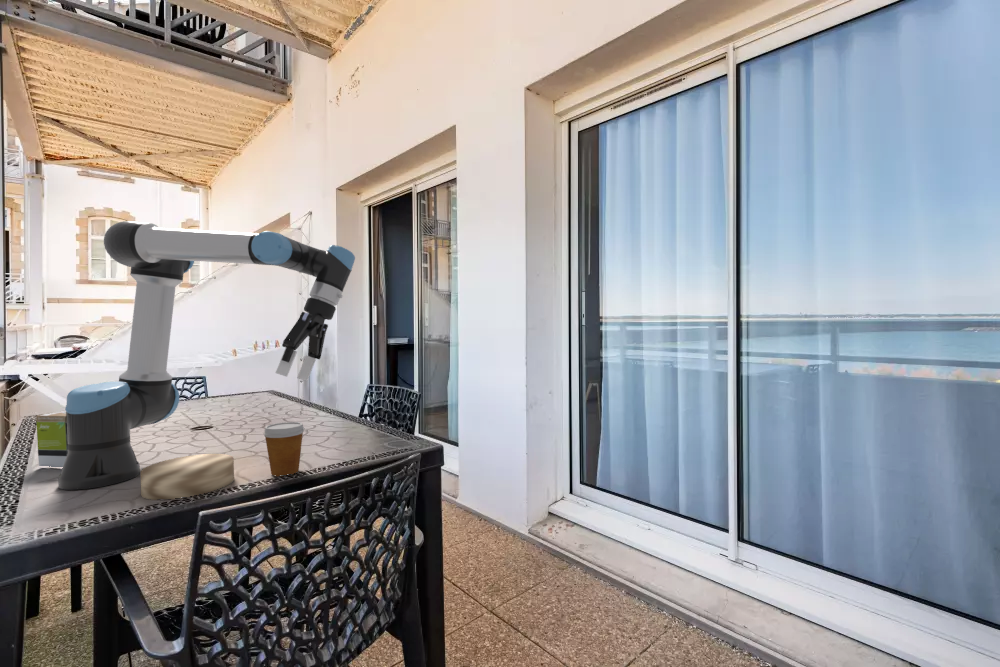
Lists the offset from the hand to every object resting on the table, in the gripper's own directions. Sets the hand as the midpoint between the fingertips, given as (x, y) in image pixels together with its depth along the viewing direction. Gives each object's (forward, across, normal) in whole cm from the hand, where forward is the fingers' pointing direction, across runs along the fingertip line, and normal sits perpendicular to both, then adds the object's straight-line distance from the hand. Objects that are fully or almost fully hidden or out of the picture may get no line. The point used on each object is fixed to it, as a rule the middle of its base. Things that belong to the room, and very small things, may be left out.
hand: (292, 377), depth 119 cm
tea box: (+40, +18, +54) cm, 70 cm away
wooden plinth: (+30, -6, +10) cm, 33 cm away
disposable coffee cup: (+23, +2, -7) cm, 24 cm away
